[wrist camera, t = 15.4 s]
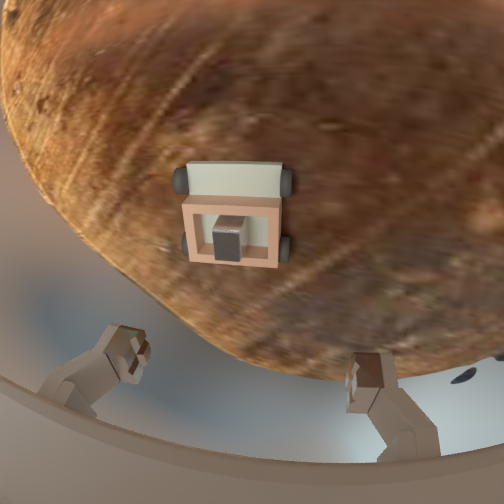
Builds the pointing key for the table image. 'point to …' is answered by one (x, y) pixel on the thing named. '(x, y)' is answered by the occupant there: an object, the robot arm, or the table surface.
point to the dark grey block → (230, 237)
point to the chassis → (235, 207)
